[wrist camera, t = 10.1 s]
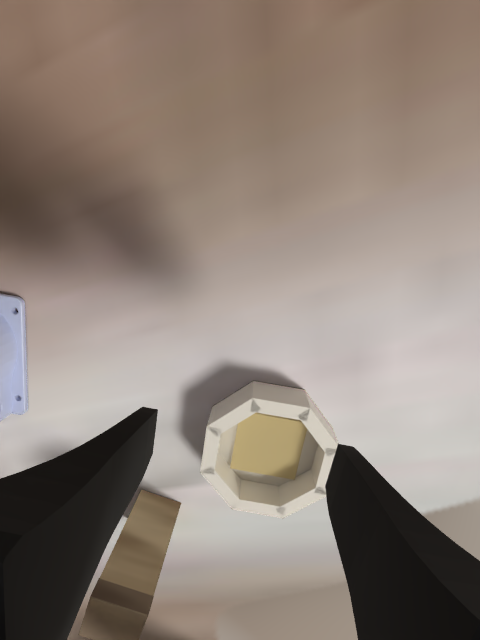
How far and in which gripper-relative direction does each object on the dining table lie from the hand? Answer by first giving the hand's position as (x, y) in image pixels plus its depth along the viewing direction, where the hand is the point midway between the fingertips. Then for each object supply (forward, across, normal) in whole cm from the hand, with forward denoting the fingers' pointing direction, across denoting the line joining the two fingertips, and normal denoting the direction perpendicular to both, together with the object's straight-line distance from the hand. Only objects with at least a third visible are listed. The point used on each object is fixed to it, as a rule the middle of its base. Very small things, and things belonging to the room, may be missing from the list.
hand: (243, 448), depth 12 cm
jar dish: (+10, -3, +7) cm, 13 cm away
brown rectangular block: (+10, +5, +16) cm, 20 cm away
